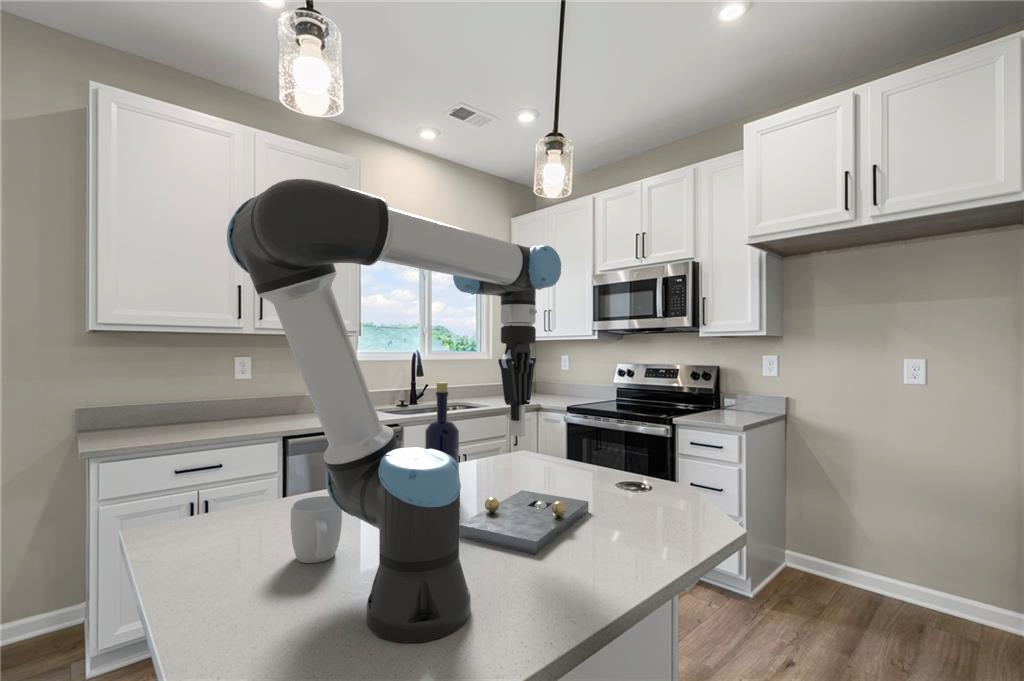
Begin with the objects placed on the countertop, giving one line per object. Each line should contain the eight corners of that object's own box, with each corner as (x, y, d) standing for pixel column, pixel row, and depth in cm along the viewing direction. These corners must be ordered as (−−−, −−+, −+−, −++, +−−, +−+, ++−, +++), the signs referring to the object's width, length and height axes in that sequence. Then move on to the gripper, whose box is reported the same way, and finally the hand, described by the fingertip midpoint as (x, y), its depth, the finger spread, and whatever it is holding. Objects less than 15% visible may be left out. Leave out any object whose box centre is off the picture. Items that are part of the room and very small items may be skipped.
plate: (536, 554, 94) (536, 541, 94) (458, 536, 103) (458, 524, 103) (588, 511, 119) (588, 501, 119) (521, 500, 128) (521, 490, 128)
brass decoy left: (494, 515, 109) (494, 500, 109) (482, 513, 110) (482, 498, 110) (501, 511, 112) (501, 496, 112) (489, 508, 113) (489, 494, 113)
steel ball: (550, 501, 117) (549, 514, 117) (537, 498, 119) (537, 512, 118) (544, 504, 114) (543, 518, 114) (531, 501, 116) (531, 515, 116)
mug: (288, 552, 95) (288, 500, 95) (337, 543, 99) (337, 493, 100) (295, 580, 84) (295, 520, 84) (349, 568, 88) (350, 512, 88)
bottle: (462, 494, 132) (463, 381, 132) (455, 506, 123) (455, 384, 123) (428, 493, 133) (429, 381, 133) (418, 504, 124) (419, 383, 124)
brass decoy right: (562, 519, 106) (562, 504, 106) (549, 517, 108) (549, 502, 108) (568, 515, 109) (568, 500, 109) (555, 512, 111) (555, 498, 111)
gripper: (519, 324, 100) (518, 442, 99) (546, 326, 111) (546, 432, 111) (487, 324, 103) (486, 438, 103) (517, 326, 115) (516, 429, 114)
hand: (517, 435), depth 107 cm, fingers closed
